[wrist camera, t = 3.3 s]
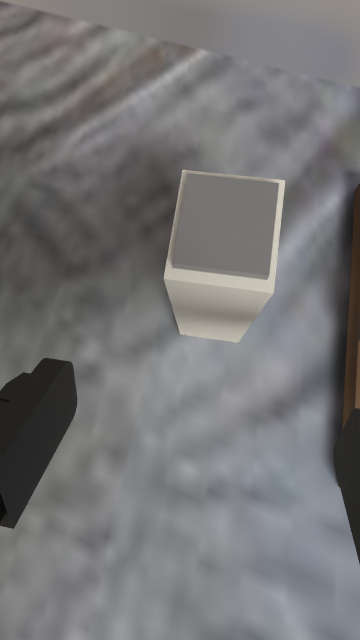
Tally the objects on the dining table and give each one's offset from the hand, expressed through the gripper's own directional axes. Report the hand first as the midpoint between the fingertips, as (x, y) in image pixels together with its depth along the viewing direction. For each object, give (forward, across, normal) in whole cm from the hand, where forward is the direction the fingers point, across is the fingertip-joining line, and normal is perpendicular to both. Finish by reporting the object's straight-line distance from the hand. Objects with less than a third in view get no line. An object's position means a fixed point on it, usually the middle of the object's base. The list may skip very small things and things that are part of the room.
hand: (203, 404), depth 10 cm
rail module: (+11, 0, +3) cm, 12 cm away
